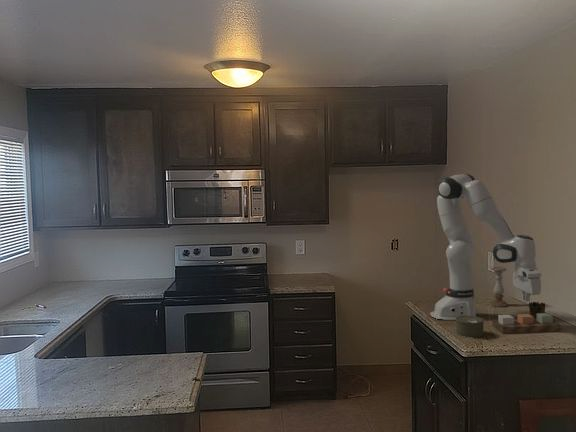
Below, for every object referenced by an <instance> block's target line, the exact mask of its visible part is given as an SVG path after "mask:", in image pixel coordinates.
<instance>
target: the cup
mask: <svg viewBox="0 0 576 432" xmlns="http://www.w3.org/2000/svg"><path fill="white" fill-rule="evenodd" d="M528 308H529V313H530V315H531V316H533V318H537V313H546V303H545V302H541V303H539V301H537V302H536V301H533V302H532V301H531V302H528Z"/></svg>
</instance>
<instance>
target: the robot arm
mask: <svg viewBox="0 0 576 432" xmlns="http://www.w3.org/2000/svg"><path fill="white" fill-rule="evenodd" d="M437 184H438V185H437V193H438V196H437V198H436V206H437V213H438V217H439V219H440V222H441V227H442V230H443V233H444V234H445V235H446V237H447V240H448V243H449V245H448V246H447V248H446V250H445V256H446V259H447V265H448V271H449V287H448V288H446V287H444V288H443V289H442V291H443V292H444V293H445V296H444V297H442V298H441V299H440V300H438V301H437V302H436V303H435V305H434V311H431V312H429V315H431V316H432V317H434V318H436V319H435V320H437V319H443V320H442V321H456V318H457V317H460V316H476V317H477V314H476V310H475V304H474V303H475V302H474V298H475V292H474V290H475V289H474V287H473V286H474V285H473V284H474V283H473V278H474V276H473V272H472V271H473V270H472V266H471V258H472V257H473V256H474V254H475V249H476V248H475V243H474V241H473V238H472V237H471V234H470V233H469V230H468V227H467V226H466V225H467V224H466V222H465V219H464V215H463V211H462V208H461V204H460V200H461V199H465V200H466V202H467V204H468V206H469V209H470V210H471V212H472V214H473V215H474V217H475V218H476V219H477V220H479V221H482V222H484V223H487V224H488V225H490V226H491V227H492V229H493V230H494V232H495V233H496V236H497V237H498V239H499V241H500V243H498V244H496V245H494V247H493V248H492V249H493V250H492V255H493V258H494V260H496V261H497V263H502V264H508V263H514V272H513V274H512V286H513V288H515V289H518V290H520V291H521V295H522V300H523V301H525V302H530V300H531V295H532V296H536V295H537V296H538V295H540V294H541V293H542V291H541V290H542V280H541V277H542V273H541V271H540V270H539V269H538V267H537V263H536V253H537V250H536V243H535V240H534V238H533V237H531V236H529V235H524V234H520V235H519V234H518V235H514V234H513V232H512V231H511V229H510V227H509V225H508V224H507V222H506V220H505V219H504V217H503V215H502V214H501V212H500V210H499V208H498V206H497V205H496V202H495V200H494V199H493V198H494V197H493V196H492V194H491V192H490V191H489V189H488V188H487V186H486V185H485V183H484V182H482V180H479V179H476V178H475V177H474V176H473V175H471V174H469V173H461V174H454V175H451V176H449V177H445V178H443V179H441V180H440V181H439V182H438V183H437ZM431 316H430V317H431ZM432 317H431V318H432ZM434 318H433V319H434Z"/></svg>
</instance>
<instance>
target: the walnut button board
mask: <svg viewBox="0 0 576 432" xmlns="http://www.w3.org/2000/svg"><path fill="white" fill-rule="evenodd" d="M491 324H492V325H491V326H492V327H493V328H494V329H496V330H497V331H499V332H500V333H502V335H505V334H507V335H509V334H525V333H528V334H529V333H549V332H551V333H552V332H553V333H554V332H561V324H560V323H557V322H555V321H554V320H553V323H540V322H538V321H537V318H533V324H521V323H519V322H518V320H517V318H514V325H502V324H500V323H498V319H492V320H491Z"/></svg>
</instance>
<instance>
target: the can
mask: <svg viewBox="0 0 576 432" xmlns="http://www.w3.org/2000/svg"><path fill="white" fill-rule="evenodd" d="M484 322H485V320H484V318H482V317H479V316H477V315H476V316H460V317H457V318H456V320H455V323H456V324H455V325H456V326H455V328H456V332H455V333H457V334H458V335H457V334H456V335H457V336H459V335H461V336H460V337H462V336H465V337H464V338H467V337H478V338H481V336H482V337H483V336H484Z"/></svg>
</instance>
